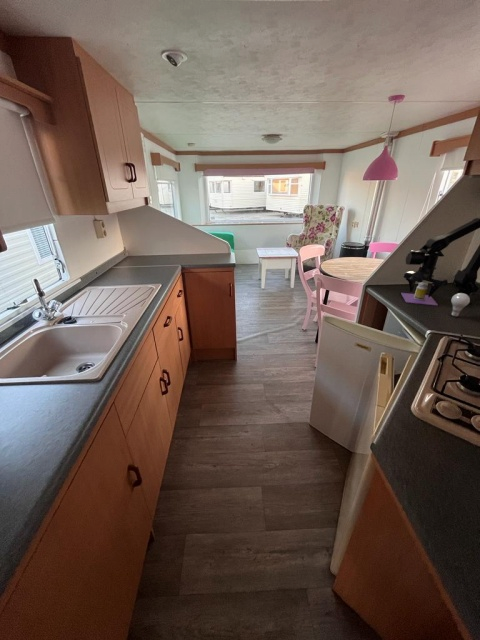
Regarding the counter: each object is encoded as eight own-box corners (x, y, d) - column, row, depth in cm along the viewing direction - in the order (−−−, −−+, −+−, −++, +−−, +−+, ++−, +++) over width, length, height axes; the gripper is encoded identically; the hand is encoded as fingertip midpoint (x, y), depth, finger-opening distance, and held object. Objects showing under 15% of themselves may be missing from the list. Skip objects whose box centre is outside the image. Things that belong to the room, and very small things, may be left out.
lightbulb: (455, 313, 124) (464, 290, 119) (466, 319, 118) (476, 296, 113) (442, 313, 124) (450, 291, 119) (452, 319, 118) (461, 296, 113)
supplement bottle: (425, 300, 137) (430, 285, 133) (415, 300, 138) (420, 284, 134) (421, 297, 141) (426, 282, 137) (412, 296, 142) (416, 281, 138)
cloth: (400, 293, 148) (401, 292, 147) (429, 296, 143) (430, 295, 143) (406, 302, 136) (406, 301, 136) (437, 305, 132) (438, 305, 131)
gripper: (400, 263, 135) (393, 291, 142) (440, 271, 121) (429, 303, 128) (413, 260, 140) (405, 288, 147) (453, 268, 125) (442, 298, 132)
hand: (419, 294), depth 138 cm, fingers open, 9 cm apart
